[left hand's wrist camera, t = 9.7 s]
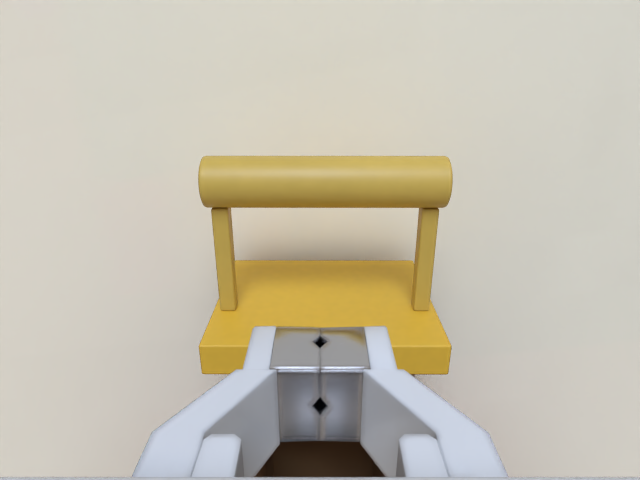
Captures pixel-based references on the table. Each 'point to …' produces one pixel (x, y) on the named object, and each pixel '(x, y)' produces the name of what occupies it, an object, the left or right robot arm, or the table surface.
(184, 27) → the table surface
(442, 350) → the drawer
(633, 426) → the table surface
